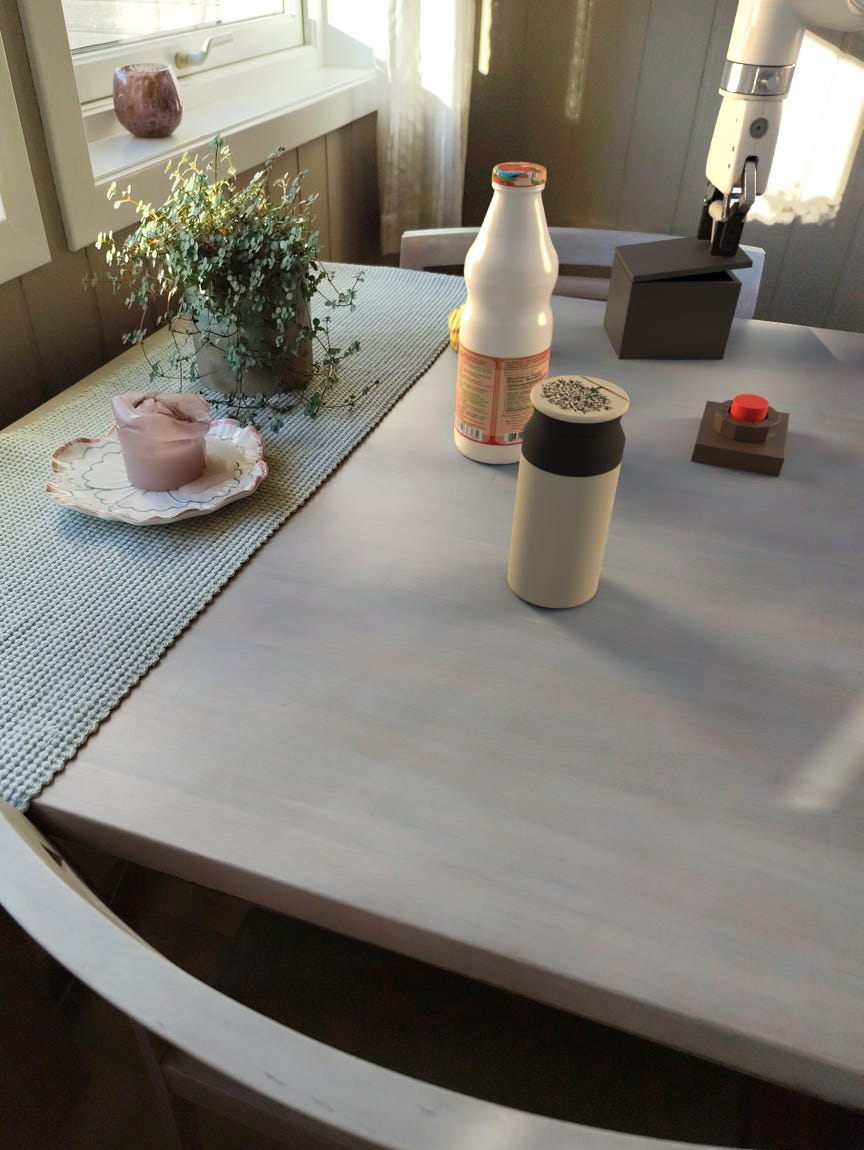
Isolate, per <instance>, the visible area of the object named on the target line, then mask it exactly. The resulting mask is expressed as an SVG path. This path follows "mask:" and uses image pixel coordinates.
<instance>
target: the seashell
mask: <svg viewBox="0 0 864 1150" xmlns="http://www.w3.org/2000/svg"><path fill="white" fill-rule="evenodd" d="M464 305H465V303H462V304H461V306H459V307H457V308H454V309H453V310H451V311H450V312H448V313H447V317H448V318H447V319H448V320H447V321H448V331H449V333H450V335H449V341H450V342H449V343H450V346H451V349H452V351H454V352H455V353H457V354H459V331H460V322H461V315H462V311H463V308H464Z"/></svg>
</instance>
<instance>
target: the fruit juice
mask: <svg viewBox="0 0 864 1150" xmlns="http://www.w3.org/2000/svg"><path fill="white" fill-rule="evenodd" d="M546 182H547V168H546V167H545V166H543V165H541V164H538V163H534V162H529V161H528V162H526V161H509V162H502V163H499V164H496V165H495V166H494V167H493V170H492V173H491V186H492V189H493V190H494V192H493V196H492V198H491V201H490V204H489V206H488V209H487V211H486V214H485V217H484V220H483V222H482V224H481V227H480V229H479V232H478V234H477V236H476V238H475V239H474V242H473V243H472V245H470V247H469V249H468V251H467V254H466V256H465V260H464V267H463V276H464V282H465V286H466V292H467V297H466V302H465V303H464V304H465V305H464V308H463V311H462V315H461V322H460V331H459V353H457V354H458V355H457V356H458V357H457V372H456V373H457V376H456V391H455V393H456V394H455V395H456V396H455V410H454V411H455V413H454V414H455V415H454V431H453V433H454V443H455V446H456V448H457V450H458V452H460V453H461V454H462V455H463V456H465V457H467V458H469V459H470V460H473V461H476V462H480V463H483V464H489V465H509V464H510V465H511V464H515V463H518V462H519V463H520V455H521V446H522V437H523V429H524V426H525V425H526V423H527V422H528V421H529V419H530V418H531V416H532V415H533V414H534V407H533V404H532V402H531V399H530V393H531V391H532V389H533V388H534V386H535V385H537V384H538V383H540V382H541V381H544V380H546V379H548V375H549V374H548V373H549V365H550V356H551V348H552V340H553V331H554V314H553V310H552V309H553V308H552V306H551V297H552V294H553V292H554V289H555V287H556V284H557V281H558V276H559V256H558V253H557V251H556V248H555V247H554V244H553V242H552V239H551V236H550V232H549V228H548V223H547V218H546V214H545V213H546V212H545V209H544V208H545V207H544V204H543V199H542V192H543V190H544V189H545V187H546Z"/></svg>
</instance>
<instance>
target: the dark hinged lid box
mask: <svg viewBox="0 0 864 1150" xmlns="http://www.w3.org/2000/svg"><path fill="white" fill-rule="evenodd" d="M742 286H743V282H742V281H741V280H740V279H739V278H738V276H737V275H736V274H735V273H734V272H733V270H728V271H720V272H712V273H704V274H696V275H688V276H680V277H672V278H664V279H656V280H648V281H640V282H632V281H631V279H630V277H629V275H628V274H627V272H626V270H625V268H624V267H623V265H622V263H621V262H620V260H619V258H618V256H617V255H616V253H615V252H614V255H613V260H612V268H611V274H610V281H609V286H608V293H607V299H606V305H605V312H604V316H603V325H602V326H603V328H604V330H605V333H606V335H607V337H608V339H609V341H610V344H611V346H612V348H613V350H614V352H615V355H616V357H617V358H618V360H683V361H685V360H693V361H695V360H699V361H701V360H702V361H703V360H711V361H713V360H715V361H716V360H719V361H721V360H724V356H725V353H726V350H727V345H728V341H729V337H730V333H731V330H732V325H733V321H734V317H735V313H736V310H737V305H738V301H739V297H740V294H741V289H742Z"/></svg>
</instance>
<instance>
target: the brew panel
mask: <svg viewBox="0 0 864 1150" xmlns="http://www.w3.org/2000/svg"><path fill="white" fill-rule="evenodd" d="M733 400H734V399H727V400H724V401H722V402H718V401H711V400H706V402H705V407H704V410H703V414H702V418H701V421H700V424H699V429H698V432H697V436H696V440H695V444H694V446H693V451H692V455H691V459H690V462H692V463H697V464H701V465H702V464H703V465H708V466H713V467H719V468H725V469H732V470H736V471H742V472H748V473H754V474H758V475H759V474H760V475H765V476H769V477H770V476H771V477H777V478H779V477H780V476H781V475H780V474H781V471H782V469H783V465H784V462H785V459H786V449H787V442H788V441H787V440H788V433H789V423H790V413H789V412H782V411H777V410H776V409H775V408H774V407H773V406H770V405H769V406H768V409H767V413H766V416H765V419H764V421H762V422H747V421H741V420H739V419H737V418H734V417H732V416H731V415H730V411H731V408H732V404H733Z"/></svg>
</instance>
